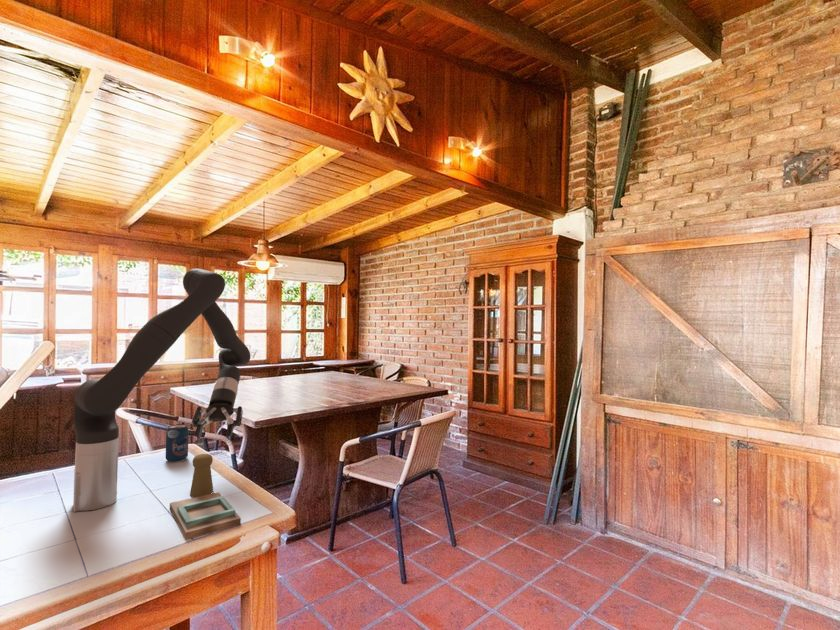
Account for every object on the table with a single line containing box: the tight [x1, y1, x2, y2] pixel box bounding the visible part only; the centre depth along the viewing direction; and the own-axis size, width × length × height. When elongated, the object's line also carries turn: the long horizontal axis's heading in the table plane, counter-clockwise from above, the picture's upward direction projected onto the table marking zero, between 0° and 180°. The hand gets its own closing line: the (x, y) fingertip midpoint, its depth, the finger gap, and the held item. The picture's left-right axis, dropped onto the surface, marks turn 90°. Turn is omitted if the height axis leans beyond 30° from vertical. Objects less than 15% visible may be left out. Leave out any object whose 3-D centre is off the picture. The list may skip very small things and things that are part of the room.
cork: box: [189, 453, 214, 498], centre depth 122 cm, size 6×6×11 cm
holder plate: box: [169, 491, 242, 540], centre depth 108 cm, size 12×20×3 cm, turn 39°
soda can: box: [165, 423, 190, 463], centre depth 151 cm, size 7×7×12 cm
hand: (212, 437), depth 132 cm, fingers open, 8 cm apart
